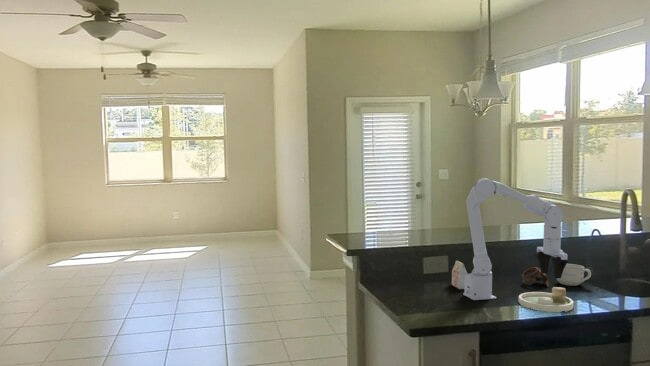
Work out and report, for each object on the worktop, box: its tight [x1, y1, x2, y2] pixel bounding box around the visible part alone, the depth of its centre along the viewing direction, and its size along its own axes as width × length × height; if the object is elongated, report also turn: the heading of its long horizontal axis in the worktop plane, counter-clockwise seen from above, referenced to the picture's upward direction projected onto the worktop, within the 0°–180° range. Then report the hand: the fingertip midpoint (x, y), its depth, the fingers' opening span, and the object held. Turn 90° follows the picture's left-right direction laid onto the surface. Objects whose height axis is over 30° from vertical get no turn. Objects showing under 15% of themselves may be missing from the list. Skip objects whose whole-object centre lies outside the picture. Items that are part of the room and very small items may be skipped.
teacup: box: [555, 263, 592, 287], centre depth 212 cm, size 14×11×8 cm
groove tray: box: [518, 291, 575, 313], centre depth 185 cm, size 18×18×2 cm
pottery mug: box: [521, 266, 550, 288], centre depth 214 cm, size 12×10×8 cm
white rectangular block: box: [451, 260, 469, 290], centre depth 209 cm, size 4×7×10 cm, turn 11°
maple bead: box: [551, 286, 567, 303], centre depth 186 cm, size 4×4×4 cm
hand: (550, 275), depth 189 cm, fingers open, 7 cm apart
